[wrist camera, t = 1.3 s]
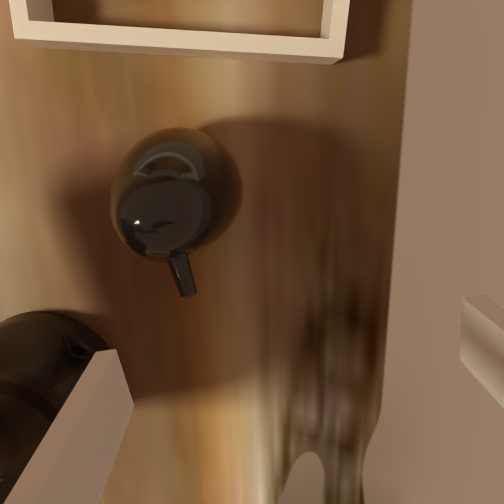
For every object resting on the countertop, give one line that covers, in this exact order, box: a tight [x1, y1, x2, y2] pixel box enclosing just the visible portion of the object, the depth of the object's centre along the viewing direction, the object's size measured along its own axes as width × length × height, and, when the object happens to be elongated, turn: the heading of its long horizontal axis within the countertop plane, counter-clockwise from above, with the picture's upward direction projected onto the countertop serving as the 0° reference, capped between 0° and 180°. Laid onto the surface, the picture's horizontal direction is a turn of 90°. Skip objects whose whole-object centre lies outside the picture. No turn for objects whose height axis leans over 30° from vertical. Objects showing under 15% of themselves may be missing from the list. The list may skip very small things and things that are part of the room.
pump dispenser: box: [109, 127, 243, 298], centre depth 28 cm, size 10×10×15 cm
